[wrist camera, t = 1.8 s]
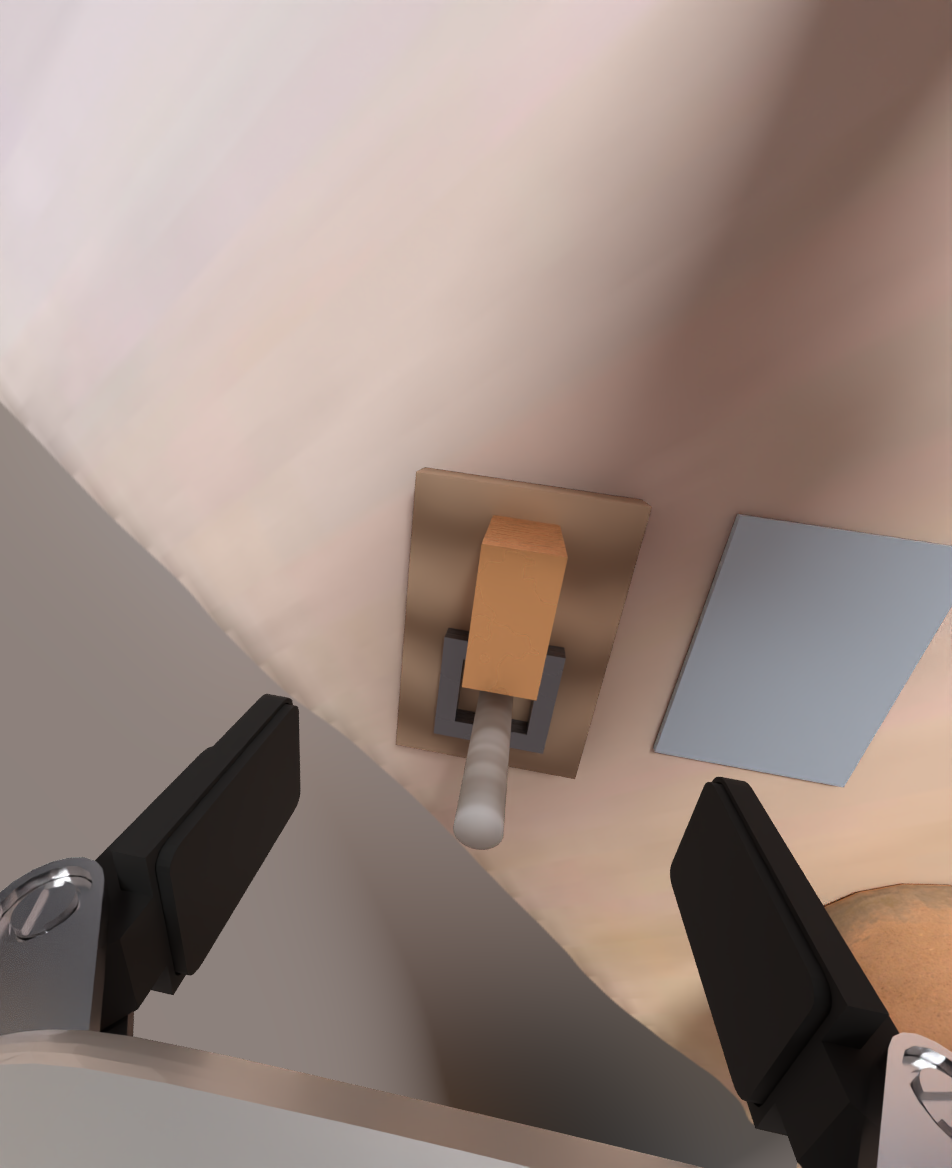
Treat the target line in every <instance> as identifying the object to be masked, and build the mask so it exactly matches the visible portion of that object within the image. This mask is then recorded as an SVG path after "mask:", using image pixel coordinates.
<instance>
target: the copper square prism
mask: <svg viewBox="0 0 952 1168" xmlns="http://www.w3.org/2000/svg"><path fill="white" fill-rule="evenodd" d="M567 559H568V556H567V552H566V548H565V544H564V540H563V535H562V531H561V527H560V525H556V524H549V523H543V522H537V521H530V520H524V519H517V518H511V517H504V516H498V515H493V517H492V519H491V522H490V524H489V527H488V529H487V532H486V534H485V537H484V539H483V542H482V545H481V552H480V559H479V567H478V574H477V581H476V588H475V596H474V603H473V610H472V617H471V624H470V631H466V630H460V629H454V628H448V630H447V632H446V635H445V638H444V646H443V655H442V664H441V673H440V681H439V690H438V699H437V708H436V716H435V725H434V733H435V734H440V735H445V736H451V737H456V738H461V739H467V740H470V738H471V733H472V728H473V723H474V718H475V713H476V712H472V711H467V710H461V709H458V704H459V697H460V690H461V683H462V687H465V688H470V689H476V690H481V691H487V692H492V693H498V694H503V695H509V696H514V697H520V698H525V699H531V700H532V701H531V705H530V710H529V715H528V720H527V722H526V721H521V720H515V719H512V720H511V734H510V748H514V749H519V750H525V751H530V752H535V753H540V754H543V752H544V748H545V744H546V739H547V735H548V731H549V727H550V723H551V718H552V714H553V710H554V706H555V702H556V697H557V693H558V689H559V685H560V681H561V677H562V672H563V668H564V664H565V660H566V656H565V648H564V647H558V646H552V645H549V641H550V637H551V632H552V627H553V623H554V618H555V614H556V609H557V605H558V600H559V595H560V591H561V586H562V582H563V577H564V573H565V568H566V563H567ZM465 660H466V661H465ZM464 661H465V668H464ZM463 668H464V675H463ZM462 675H463V682H462Z"/></svg>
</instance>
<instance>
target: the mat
mask: <svg viewBox="0 0 952 1168" xmlns="http://www.w3.org/2000/svg"><path fill="white" fill-rule="evenodd" d="M951 607H952V546H950V545H943V544H936V543H930V542H923V541H916V540H909V539H903V538H896V537H889V536H883V535H876V534H869V533H862V532H856V531H849V530H842V529H836V528H829V527H822V526H815V525H809V524H802V523H795V522H789V521H782V520H775V519H768V518H762V517H755V516H748V515H741V514H737V516H736V519H735V522H734V525H733V528H732V530H731V533H730V536H729V539H728V541H727V544H726V547H725V550H724V553H723V555H722V558H721V561H720V564H719V566H718V569H717V572H716V575H715V578H714V580H713V583H712V586H711V589H710V592H709V594H708V597H707V600H706V603H705V605H704V608H703V611H702V614H701V617H700V619H699V622H698V625H697V628H696V631H695V633H694V636H693V639H692V642H691V644H690V647H689V650H688V653H687V656H686V658H685V661H684V664H683V667H682V669H681V672H680V675H679V678H678V681H677V683H676V686H675V689H674V692H673V695H672V697H671V700H670V703H669V706H668V708H667V711H666V714H665V717H664V720H663V722H662V725H661V728H660V731H659V733H658V736H657V739H656V742H655V745H654V747H653V748H654V751H655V752H657V753H662V754H667V755H673V756H678V757H684V758H689V759H694V760H700V761H705V762H710V763H716V764H721V765H727V766H732V767H737V768H743V769H748V770H753V771H759V772H764V773H770V774H775V775H780V776H786V777H791V778H796V779H802V780H807V781H812V782H818V783H823V784H829V785H834V786H839V787H844V786H845V784H846V783H847V781H848V779H849V778H850V776H851V774H852V773H853V771H854V769H855V768H856V766H857V764H858V763H859V761H860V759H861V758H862V756H863V754H864V753H865V751H866V749H867V748H868V746H869V744H870V742H871V741H872V739H873V737H874V736H875V734H876V732H877V731H878V729H879V727H880V726H881V724H882V722H883V721H884V719H885V717H886V716H887V714H888V712H889V711H890V709H891V707H892V706H893V704H894V702H895V701H896V699H897V697H898V695H899V694H900V692H901V690H902V689H903V687H904V685H905V684H906V682H907V680H908V679H909V677H910V675H911V674H912V672H913V670H914V669H915V667H916V665H917V664H918V662H919V660H920V659H921V657H922V655H923V654H924V652H925V650H926V649H927V647H928V645H929V643H930V642H931V640H932V638H933V637H934V635H935V633H936V632H937V630H938V628H939V627H940V625H941V623H942V622H943V620H944V618H945V617H946V615H947V613H948V612H949V610H950V608H951Z"/></svg>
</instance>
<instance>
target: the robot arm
mask: <svg viewBox="0 0 952 1168" xmlns="http://www.w3.org/2000/svg"><path fill="white" fill-rule="evenodd" d="M299 797H300V752H299V710H298V707H297V706H294V705H293V703H292V700H291V699H290V698H286V697H281V696H276V695H270V694H265V695H263V696H262V697H261V698H260V699H259V700H258V701H257V702H256V703H255V704H254V705H253V706H252V707H251V708H250V709H249V710H248V711H247V712H246V713H245V714H244V715H243V716H242V717H241V718H240V719H239V720H238V721H237V722H236V723H235V724H234V725H233V726H232V727H231V728H230V729H229V730H228V731H227V732H226V734H225V735H224V736H223V737H222V738H221V739H220V740H219V741H218V742H217V743H216V744H215V745H214V746H212V747H209V748H207V749H206V750H205V751H203V752H202V753H201V754H200V755H199V756H198V757H197V758H196V759H195V760H194V761H193V762H192V763H191V764H190V765H189V766H188V767H187V768H186V769H185V770H184V771H183V772H182V773H181V774H180V775H179V776H178V777H177V778H176V779H175V780H174V781H173V782H172V783H171V784H170V785H169V786H168V787H167V788H166V789H165V790H164V791H163V792H162V793H161V794H160V795H159V796H158V797H157V798H156V799H155V800H154V801H153V802H152V804H150V805H149V806H148V807H147V809H146V810H145V811H144V812H143V813H142V814H141V815H140V816H139V817H138V818H137V819H136V820H135V821H134V822H133V823H132V824H131V825H130V826H129V827H128V828H127V829H126V830H125V831H124V832H123V833H122V834H121V835H120V836H119V837H118V838H117V839H116V840H115V841H114V842H113V843H112V844H111V845H110V846H109V847H108V848H107V849H106V850H105V851H104V852H103V853H102V854H101V855H100V856H99V857H98V858H97V859H96V860H95V861H94V860H91V859H88V858H85V857H75V858H66V859H62V860H57V861H53V862H50V863H48V864H45V865H43V866H41V867H38V868H36V869H34V870H32V871H30V872H28V873H27V874H25V875H23V876H22V877H20V878H18V879H17V880H15V881H13V882H12V883H11V884H10V885H9V886H7V887H6V888H5V889H4V890H2V891H1V892H0V1168H702V1167H698V1166H694V1165H690V1164H685V1163H681V1162H677V1161H673V1160H669V1159H665V1158H660V1157H656V1156H652V1155H648V1154H644V1153H640V1152H636V1151H632V1150H627V1149H624V1148H620V1147H615V1146H611V1145H607V1144H603V1143H599V1142H594V1141H590V1140H587V1139H582V1138H578V1137H573V1136H570V1135H566V1134H562V1133H557V1132H553V1131H549V1130H545V1129H541V1128H536V1127H532V1126H528V1125H524V1124H519V1123H515V1122H511V1121H507V1120H503V1119H498V1118H494V1117H489V1116H486V1115H481V1114H477V1113H473V1112H469V1111H464V1110H460V1109H456V1108H451V1107H447V1106H443V1105H438V1104H435V1103H430V1102H426V1101H422V1100H418V1099H413V1098H409V1097H405V1096H401V1095H396V1094H392V1093H388V1092H384V1091H379V1090H375V1089H371V1088H366V1087H362V1086H358V1085H353V1084H349V1083H345V1082H340V1081H335V1080H331V1079H327V1078H323V1077H318V1076H314V1075H310V1074H305V1073H301V1072H296V1071H292V1070H288V1069H283V1068H279V1067H275V1066H270V1065H266V1064H262V1063H257V1062H253V1061H248V1060H244V1059H240V1058H235V1057H231V1056H226V1055H222V1054H216V1053H211V1052H207V1051H202V1050H197V1049H192V1048H187V1047H182V1046H177V1045H173V1044H167V1043H163V1042H158V1041H153V1040H148V1039H143V1038H138V1037H133V1028H134V1027H133V1026H134V1011H135V1010H137V1009H138V1008H139V1007H140V1005H141V1004H142V1002H143V1001H144V999H145V998H146V996H147V995H148V993H149V992H150V990H154V991H158V992H162V993H167V994H171V995H174V993H175V991H176V990H177V988H178V987H179V985H180V983H181V982H182V980H183V979H184V977H185V975H193V974H194V973H195V972H196V970H198V969H199V967H200V966H201V964H202V963H203V961H204V959H205V958H206V956H207V954H208V953H209V951H210V949H211V948H212V946H213V944H214V943H215V941H216V939H217V938H218V936H219V934H220V933H221V931H222V929H223V928H224V926H225V925H226V923H227V921H228V920H229V918H230V916H231V914H232V913H233V911H234V910H235V908H236V906H237V905H238V903H239V901H240V900H241V898H242V896H243V894H244V893H245V891H246V890H247V888H248V886H249V885H250V883H251V881H252V880H253V878H254V876H255V875H256V873H257V871H258V870H259V868H260V867H261V865H262V863H263V862H264V860H265V858H266V857H267V855H268V853H269V852H270V850H271V848H272V847H273V845H274V843H275V842H276V840H277V838H278V836H279V835H280V833H281V832H282V830H283V828H284V827H285V825H286V823H287V822H288V820H289V818H290V817H291V815H292V813H293V812H294V810H295V808H296V806H297V804H298V801H299ZM670 878H671V884H672V887H673V891H674V894H675V897H676V900H677V904H678V907H679V910H680V913H681V917H682V920H683V923H684V926H685V929H686V933H687V936H688V939H689V942H690V946H691V949H692V952H693V955H694V959H695V962H696V965H697V968H698V972H699V975H700V978H701V981H702V984H703V988H704V991H705V994H706V997H707V1001H708V1004H709V1007H710V1010H711V1014H712V1017H713V1020H714V1023H715V1026H716V1030H717V1033H718V1036H719V1039H720V1043H721V1046H722V1049H723V1052H724V1056H725V1059H726V1062H727V1065H728V1069H729V1072H730V1075H731V1078H732V1081H733V1084H734V1087H735V1089H736V1091H737V1093H738V1095H739V1096H740V1098H741V1099H742V1100H744V1101H747V1104H748V1107H749V1110H750V1113H751V1116H752V1119H753V1122H754V1125H755V1128H756V1129H760V1130H765V1131H769V1132H774V1133H778V1134H782V1135H787V1136H788V1138H789V1141H790V1144H791V1146H792V1149H793V1152H794V1155H795V1157H796V1160H797V1162H798V1164H797V1168H952V1052H951V1051H949V1050H948V1049H946V1048H945V1047H943V1046H942V1045H940V1044H938V1043H937V1042H935V1041H933V1040H931V1039H928V1038H926V1037H924V1036H921V1035H919V1034H915V1033H906V1032H902V1033H899V1031H898V1030H897V1028H896V1026H895V1025H894V1023H893V1021H892V1020H891V1018H890V1016H889V1015H890V1014H889V1013H888V1011H887V1009H886V1008H885V1006H884V1004H883V1003H882V1001H881V1000H880V998H879V996H878V995H877V993H876V991H875V990H874V988H873V986H872V985H871V983H870V982H869V980H868V978H867V977H866V975H865V973H864V972H863V970H862V968H861V967H860V965H859V963H858V962H857V960H856V959H855V957H854V955H853V954H852V952H851V950H850V949H849V947H848V945H847V944H846V942H845V940H844V939H843V937H842V936H841V934H840V932H839V931H838V929H837V927H836V926H835V924H834V922H833V921H832V919H831V918H830V916H829V914H828V913H827V911H826V909H825V908H824V906H823V904H822V903H821V901H820V899H819V898H818V896H817V895H816V893H815V891H814V890H813V888H812V886H811V885H810V883H809V881H808V880H807V878H806V876H805V875H804V873H803V872H802V870H801V868H800V867H799V865H798V863H797V862H796V860H795V858H794V857H793V855H792V854H791V852H790V850H789V849H788V847H787V845H786V844H785V842H784V840H783V839H782V837H781V835H780V834H779V832H778V831H777V829H776V827H775V826H774V824H773V822H772V821H771V819H770V817H769V816H768V814H767V813H766V811H765V809H764V808H763V806H762V804H761V803H760V801H759V799H758V798H757V796H756V794H755V793H754V791H753V790H752V788H751V787H750V785H749V784H748V783H746V782H745V781H740V780H734V779H729V778H723V777H716V778H715V779H714V780H713V781H712V782H707V783H706V784H705V785H704V787H703V790H702V792H701V795H700V797H699V799H698V802H697V804H696V807H695V809H694V811H693V814H692V816H691V819H690V821H689V823H688V826H687V828H686V831H685V833H684V835H683V838H682V840H681V843H680V845H679V847H678V850H677V852H676V855H675V857H674V859H673V862H672V864H671V869H670Z"/></svg>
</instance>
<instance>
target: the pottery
mask: <svg viewBox="0 0 952 1168" xmlns="http://www.w3.org/2000/svg"><path fill="white" fill-rule="evenodd" d="M824 908H825V909H826V911H827V913H828V914H829V916H830V918H831V919H832V921H833V922H834V924H835V926H836V927H837V929H838V931H839V932H840V934H841V936H842V937H843V939H844V940H845V942H846V944H847V945H848V947H849V949H850V950H851V952H852V954H853V955H854V957H855V959H856V960H857V962H858V963H859V965H860V967H861V968H862V970H863V972H864V973H865V975H866V977H867V978H868V980H869V982H870V983H871V985H872V986H873V988H874V990H875V991H876V993H877V995H878V996H879V998H880V1000H881V1001H882V1003H883V1004H884V1006H885V1008H886V1009H887V1011H888V1013H889V1014H890V1015H889V1016H890V1018H891V1020H892V1021H893V1023H894V1025H895V1026H896V1028H897V1030H898V1031H899V1033H902V1032H906V1033H915V1034H919V1035H921V1036H924V1037H926V1038H928V1039H931V1040H933V1041H935V1042H937V1043H938V1044H940V1045H942V1046H943V1047H945V1048H946V1049H948V1050H949V1051H951V1052H952V886H951V885H937V884H898V885H893V886H887V887H882V888H877V889H871V890H866V891H860V892H857V893H854V894H852V895H850V896H847V897H845V898H843V899H841V900H838V901H836V902H834V903H831V904H829V905H827V906H824Z"/></svg>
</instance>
